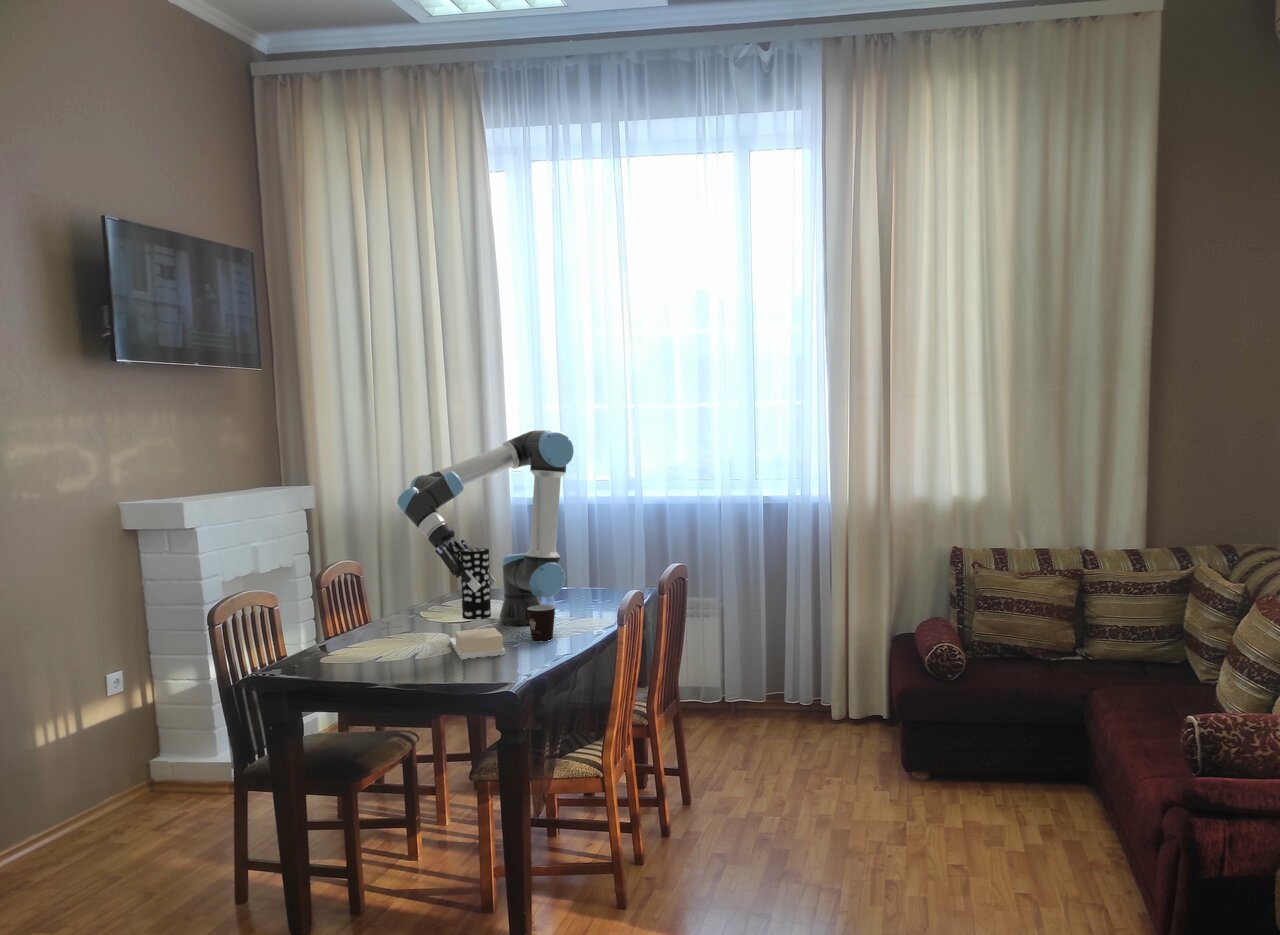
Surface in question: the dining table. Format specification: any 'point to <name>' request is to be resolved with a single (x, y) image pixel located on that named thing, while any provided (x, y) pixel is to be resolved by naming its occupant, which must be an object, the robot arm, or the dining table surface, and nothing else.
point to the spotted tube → (478, 566)
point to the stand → (478, 643)
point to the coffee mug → (541, 622)
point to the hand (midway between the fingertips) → (485, 586)
